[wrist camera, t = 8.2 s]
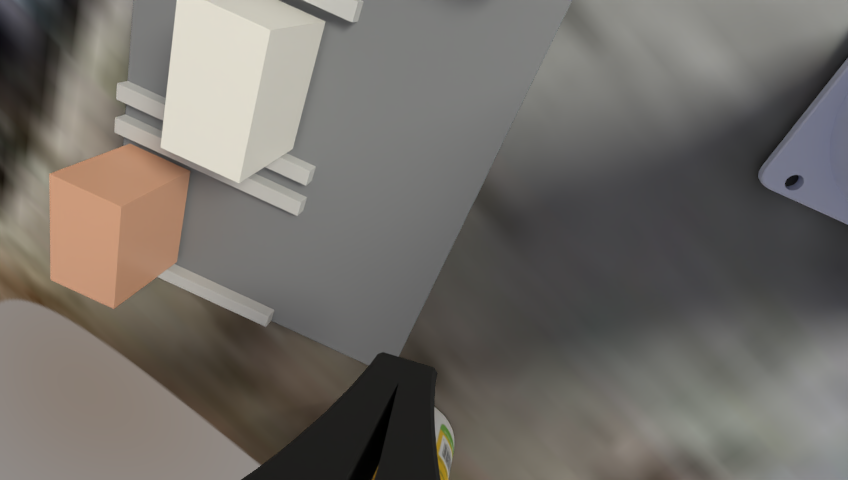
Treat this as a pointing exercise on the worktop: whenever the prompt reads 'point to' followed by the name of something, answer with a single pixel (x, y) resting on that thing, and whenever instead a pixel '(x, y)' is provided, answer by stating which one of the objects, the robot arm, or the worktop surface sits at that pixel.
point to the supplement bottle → (442, 444)
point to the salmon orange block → (115, 222)
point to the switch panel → (351, 163)
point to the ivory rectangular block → (237, 82)
